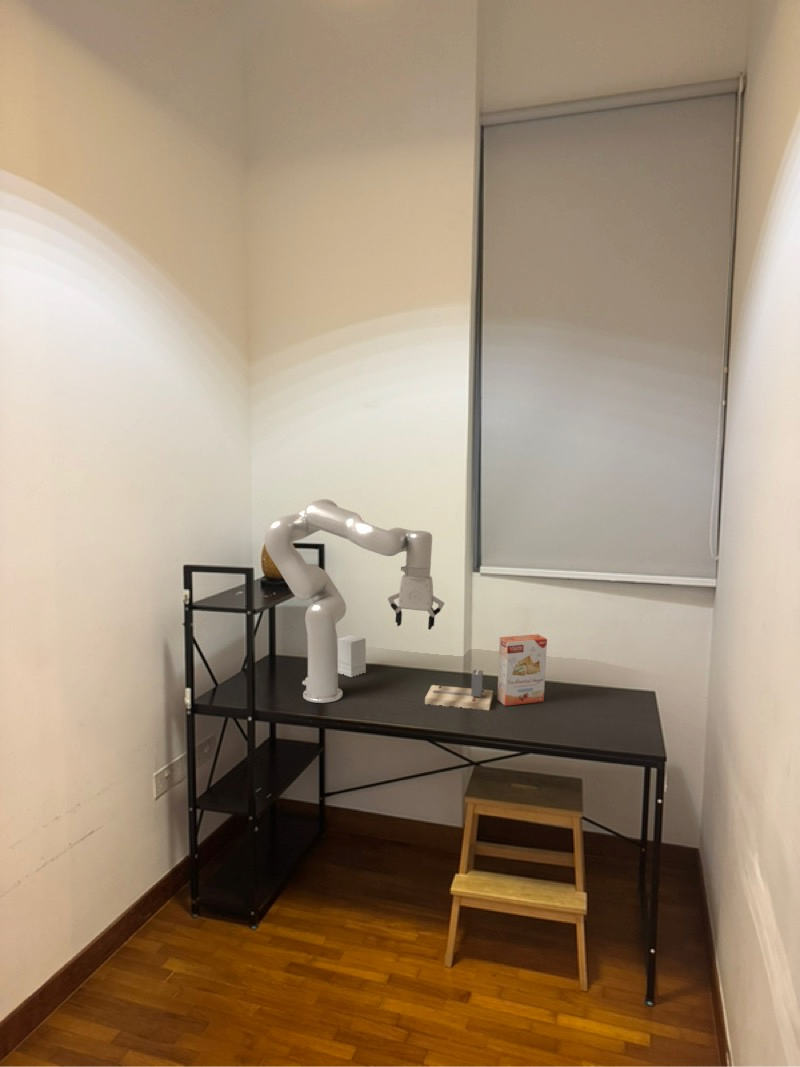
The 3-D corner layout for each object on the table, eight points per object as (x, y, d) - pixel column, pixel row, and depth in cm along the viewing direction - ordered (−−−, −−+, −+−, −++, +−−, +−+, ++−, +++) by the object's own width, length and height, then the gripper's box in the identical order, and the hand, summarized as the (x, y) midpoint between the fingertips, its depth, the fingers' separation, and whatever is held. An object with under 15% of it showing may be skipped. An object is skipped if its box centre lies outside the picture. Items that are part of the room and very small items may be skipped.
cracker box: (505, 707, 214) (507, 641, 211) (496, 700, 219) (498, 636, 217) (545, 702, 218) (547, 638, 215) (535, 695, 224) (537, 633, 221)
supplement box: (366, 673, 244) (366, 638, 242) (350, 678, 239) (350, 642, 237) (352, 668, 249) (352, 634, 247) (336, 672, 244) (336, 638, 242)
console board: (424, 704, 215) (425, 697, 215) (431, 690, 227) (431, 684, 227) (489, 710, 211) (489, 703, 211) (492, 696, 223) (492, 689, 222)
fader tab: (471, 696, 216) (471, 673, 215) (472, 691, 220) (473, 669, 219) (480, 696, 215) (481, 674, 214) (482, 691, 219) (482, 670, 218)
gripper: (387, 571, 206) (384, 626, 209) (444, 576, 203) (440, 633, 205) (392, 567, 214) (389, 620, 216) (447, 572, 210) (444, 626, 213)
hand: (414, 626), depth 211 cm, fingers open, 9 cm apart
